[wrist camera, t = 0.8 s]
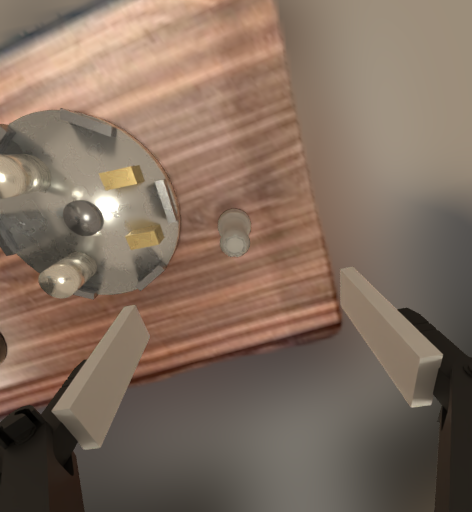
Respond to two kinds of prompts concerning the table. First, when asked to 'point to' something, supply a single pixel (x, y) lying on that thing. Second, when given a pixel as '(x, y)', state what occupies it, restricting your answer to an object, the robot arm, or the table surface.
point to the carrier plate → (84, 204)
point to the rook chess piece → (234, 232)
